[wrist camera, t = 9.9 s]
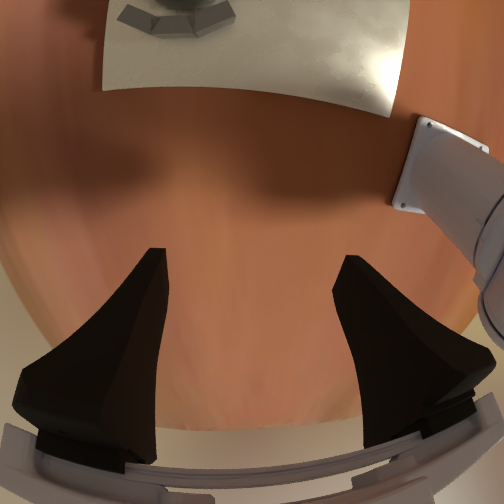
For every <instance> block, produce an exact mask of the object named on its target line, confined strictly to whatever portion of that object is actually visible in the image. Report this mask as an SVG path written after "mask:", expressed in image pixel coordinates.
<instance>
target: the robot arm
mask: <svg viewBox="0 0 504 504" xmlns="http://www.w3.org/2000/svg"><path fill="white" fill-rule="evenodd" d="M428 122H429V126H428V127H427V124H428ZM488 153H489V148H488V147H487V146H486V145H484V144H482V143H480V142H478V141H477V140H475V139H473V138H471V137H469V136H467V135H465V134H463V133H461V132H459V131H457V130H455V129H452V128H450V127H448V126H446V125H444V124H441V123H439V122H437V121H434V120H432V119H430V118H427V117H425V116H420V117H419V118H418V121H417V125H416V128H415V132H414V136H413V139H412V143H411V146H410V149H409V153H408V156H407V159H406V162H405V166H404V169H403V172H402V175H401V178H400V181H399V184H398V187H397V189H396V192H395V195H394V198H393V201H392V206H393V208H394V209H396V210H402V211H408V212H415V213H421V214H427V215H428V216H429V217H430V218H431V220H432V221H433V222H434V223H435V224H436V225H437V226H438V227H439V228H440V229H441V230H442V231H443V232H444V233H445V234H446V235H447V237H448V238H449V239H450V240H451V241H452V242H453V243H454V244H455V246H456V247H457V248H458V249H459V250H460V251H461V253H462V254H463V255H464V256H465V257H466V258H467V260H468V261H469V262H470V263H471V265H472V266H473V267H474V268H475V269H476V272H475V276H474V278H473V281H474V283H475V284H476V285H477V287H478V288H479V289H480V291H481V292H480V294H479V297H478V304H477V307H478V313H479V317H480V320H481V322H482V325H483V327H484V329H485V330H486V332H487V334H488V335H489V337H490V338H491V339H492V340H493V342H495V344H496V345H498V346H499V347H500V348H501V349H503V350H504V164H503V163H502V162H500V161H499V160H497V159H496V158H494V157H492V156H491V155H489V154H488ZM402 203H403V205H402V206H401V204H402ZM332 293H333V298H334V303H335V307H336V311H337V314H338V317H339V320H340V322H341V325H342V328H343V331H344V333H345V336H346V339H347V342H348V345H349V347H350V350H351V353H352V356H353V360H354V363H355V368H356V373H357V378H358V383H359V389H360V396H361V404H362V414H363V434H364V435H363V436H364V437H363V438H364V439H363V441H364V442H363V446H364V449H363V450H359V451H355V452H352V453H348V454H343V455H339V456H334V457H330V458H325V459H320V460H315V461H309V462H303V463H297V464H289V465H281V466H272V467H261V468H249V469H220V470H218V469H215V470H213V469H211V470H210V469H209V470H207V469H182V468H168V467H157V466H148V465H150V464H152V463H153V462H154V461H155V460H156V459H157V455H156V437H155V389H156V370H157V361H158V355H159V349H160V344H161V339H162V334H163V329H164V324H165V319H166V314H167V306H168V296H169V280H168V270H167V259H166V248H149V249H148V250H147V252H146V253H145V254H144V256H143V257H142V258H141V260H140V261H139V263H138V264H137V265H136V266H135V268H134V269H133V270H132V272H131V273H130V274H129V275H128V277H127V278H126V279H125V280H124V282H123V283H122V284H121V285H120V287H119V288H118V289H117V290H116V291H115V292H114V294H113V295H112V296H111V297H110V298H109V299H108V300H107V302H106V303H105V304H104V305H103V306H102V307H101V308H100V309H99V310H98V311H97V312H96V313H95V314H94V315H93V316H92V317H91V318H90V319H89V320H88V321H87V322H86V323H85V324H84V325H82V326H81V327H80V328H79V329H78V330H77V331H76V332H75V333H73V334H72V335H71V336H70V337H69V338H67V339H66V340H65V341H63V342H62V343H61V344H60V345H58V346H57V347H56V348H54V349H53V350H52V351H50V352H49V353H47V354H46V355H44V356H43V357H41V358H40V359H38V360H36V361H35V362H33V363H32V364H30V365H28V366H27V367H25V368H24V369H22V372H21V375H20V378H19V380H18V384H17V387H16V391H15V395H14V398H13V402H12V406H13V408H14V410H15V411H16V412H17V413H18V414H19V415H20V416H22V417H23V418H24V419H26V420H27V421H29V422H30V423H31V424H33V425H34V426H35V427H37V428H38V429H39V430H38V436H36V435H34V434H32V433H30V432H28V431H25V430H23V429H20V428H18V427H16V426H13V425H11V424H9V423H5V425H4V431H3V436H2V441H1V447H0V486H2V487H3V488H5V489H7V490H9V491H10V492H12V493H14V494H16V495H18V496H20V497H22V498H24V499H25V500H27V501H29V502H31V503H34V504H215V498H214V497H213V496H212V495H210V494H191V493H180V492H169V491H168V490H167V489H166V488H165V487H175V488H176V487H177V488H192V489H193V488H194V489H236V488H253V487H265V486H273V485H282V484H290V483H295V482H302V481H308V480H313V479H318V478H323V477H328V476H332V475H336V474H340V473H344V472H348V471H352V470H355V469H359V468H362V467H366V466H369V465H372V464H375V463H378V462H381V461H384V460H387V459H390V458H391V460H390V461H389V463H388V464H386V465H383V466H380V467H378V468H375V469H373V470H371V471H368V472H366V473H363V474H360V475H357V476H354V477H352V478H351V481H352V485H353V488H352V489H350V490H346V491H342V492H339V493H334V494H331V495H326V496H322V497H317V498H312V499H307V500H301V501H296V502H289V503H282V504H435V502H434V498H433V495H435V494H436V493H438V492H439V491H440V490H442V489H443V488H445V487H446V486H447V485H449V484H450V483H451V482H453V481H454V480H455V479H456V478H458V477H459V476H460V475H462V473H464V472H465V471H466V470H468V469H469V468H470V467H471V466H472V465H473V464H475V463H476V462H477V461H478V460H479V459H480V458H481V457H482V456H483V455H485V454H486V453H487V452H488V451H489V450H490V449H491V448H493V447H494V446H495V445H496V444H497V443H498V442H500V441H501V440H502V439H503V438H504V419H503V417H502V414H501V412H500V409H499V407H498V405H497V402H496V400H495V398H494V395H493V393H492V392H490V393H489V394H487V395H485V396H483V397H482V398H480V399H478V400H477V401H475V402H473V399H472V397H474V396H475V391H474V389H473V388H474V387H475V386H476V385H478V384H479V383H480V382H481V381H482V380H483V379H485V378H486V377H487V376H488V375H489V374H490V373H491V372H492V371H493V369H494V368H495V367H496V361H495V359H494V357H493V355H492V353H491V351H490V350H489V349H488V348H486V347H484V346H482V345H480V344H477V343H475V342H473V341H471V340H469V339H467V338H465V337H463V336H461V335H459V334H457V333H456V332H454V331H452V330H450V329H449V328H447V327H446V326H444V325H443V324H441V323H439V322H438V321H436V320H435V319H434V318H432V317H431V316H429V315H428V314H427V313H425V312H424V311H423V310H421V309H420V308H419V307H417V306H416V305H415V304H414V303H412V302H411V301H410V300H409V299H408V298H407V297H405V296H404V295H403V294H402V293H401V292H400V291H398V290H397V289H396V288H395V287H394V286H393V285H392V284H391V283H390V282H388V281H387V280H386V279H385V278H384V277H383V276H382V275H381V274H380V273H379V272H378V271H376V270H375V269H374V268H373V267H372V266H371V265H370V264H369V263H367V262H366V261H365V260H364V259H363V258H361V257H360V256H358V255H346V257H345V259H344V262H343V264H342V267H341V269H340V272H339V274H338V277H337V279H336V282H335V284H334V287H333V289H332ZM141 464H145V465H141ZM146 464H147V465H146ZM163 486H164V487H163Z"/></svg>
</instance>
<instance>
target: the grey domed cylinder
mask: <svg viewBox="0 0 504 504" xmlns="http://www.w3.org/2000/svg"><path fill="white" fill-rule="evenodd" d="M155 1H156V2H157V3H159V4H160V5H162V6H164V7H167V8H171V9H179V10H183V9H192V8H196V7H199V6H202V5H204V4H206V3H208V2H210V1H211V0H155Z"/></svg>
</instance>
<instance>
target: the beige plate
mask: <svg viewBox="0 0 504 504" xmlns="http://www.w3.org/2000/svg"><path fill="white" fill-rule="evenodd" d="M409 7H410V0H211V1H210V2H208V3H206V4H204V5H202V6H199V7H196V8H192V9H183V10H179V9H171V8H167V7H164V6H162V5H160V4H159V3H157V2H156V1H155V0H109V6H108V13H107V21H106V30H105V41H104V55H103V78H102V91H107V90H116V89H128V88H143V87H176V86H184V87H217V88H233V89H245V90H255V91H264V92H272V93H279V94H286V95H292V96H298V97H304V98H310V99H315V100H320V101H325V102H330V103H334V104H339V105H343V106H347V107H351V108H355V109H359V110H363V111H366V112H370V113H374V114H377V115H380V116H384V117H387V118H390V114H391V110H392V106H393V101H394V97H395V92H396V88H397V83H398V78H399V73H400V68H401V62H402V57H403V51H404V45H405V38H406V32H407V24H408V16H409Z"/></svg>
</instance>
